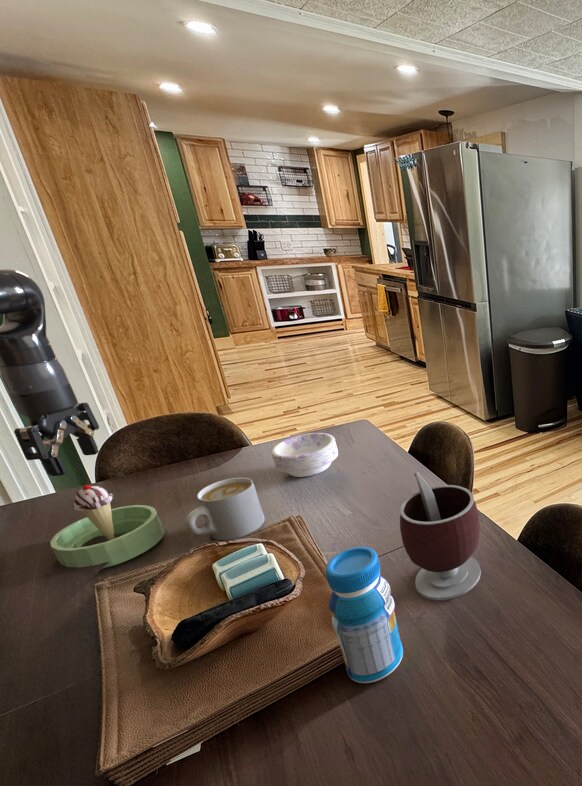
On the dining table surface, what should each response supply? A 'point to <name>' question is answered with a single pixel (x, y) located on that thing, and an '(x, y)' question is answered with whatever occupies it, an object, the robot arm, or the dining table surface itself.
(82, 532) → the green ring
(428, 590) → the mate gourd
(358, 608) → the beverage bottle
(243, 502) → the coffee mug
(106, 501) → the ice cream cone
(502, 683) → the dining table surface
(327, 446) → the paper bowls
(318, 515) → the dining table surface
